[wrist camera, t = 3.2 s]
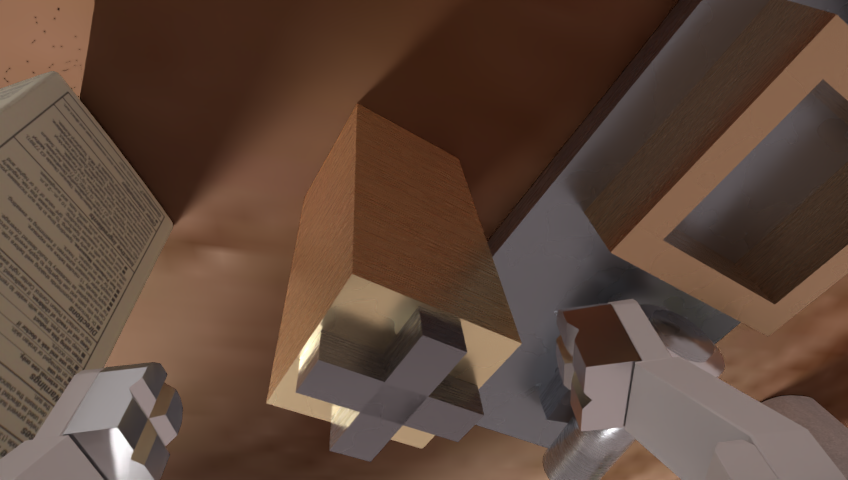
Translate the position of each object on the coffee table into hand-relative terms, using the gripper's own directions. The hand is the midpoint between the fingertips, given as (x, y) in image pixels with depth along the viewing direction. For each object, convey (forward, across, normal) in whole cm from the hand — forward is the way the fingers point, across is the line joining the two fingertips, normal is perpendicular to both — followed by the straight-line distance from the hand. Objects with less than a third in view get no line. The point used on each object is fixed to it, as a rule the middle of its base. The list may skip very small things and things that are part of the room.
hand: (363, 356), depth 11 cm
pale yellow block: (+9, 0, 0) cm, 9 cm away
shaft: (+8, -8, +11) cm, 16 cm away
